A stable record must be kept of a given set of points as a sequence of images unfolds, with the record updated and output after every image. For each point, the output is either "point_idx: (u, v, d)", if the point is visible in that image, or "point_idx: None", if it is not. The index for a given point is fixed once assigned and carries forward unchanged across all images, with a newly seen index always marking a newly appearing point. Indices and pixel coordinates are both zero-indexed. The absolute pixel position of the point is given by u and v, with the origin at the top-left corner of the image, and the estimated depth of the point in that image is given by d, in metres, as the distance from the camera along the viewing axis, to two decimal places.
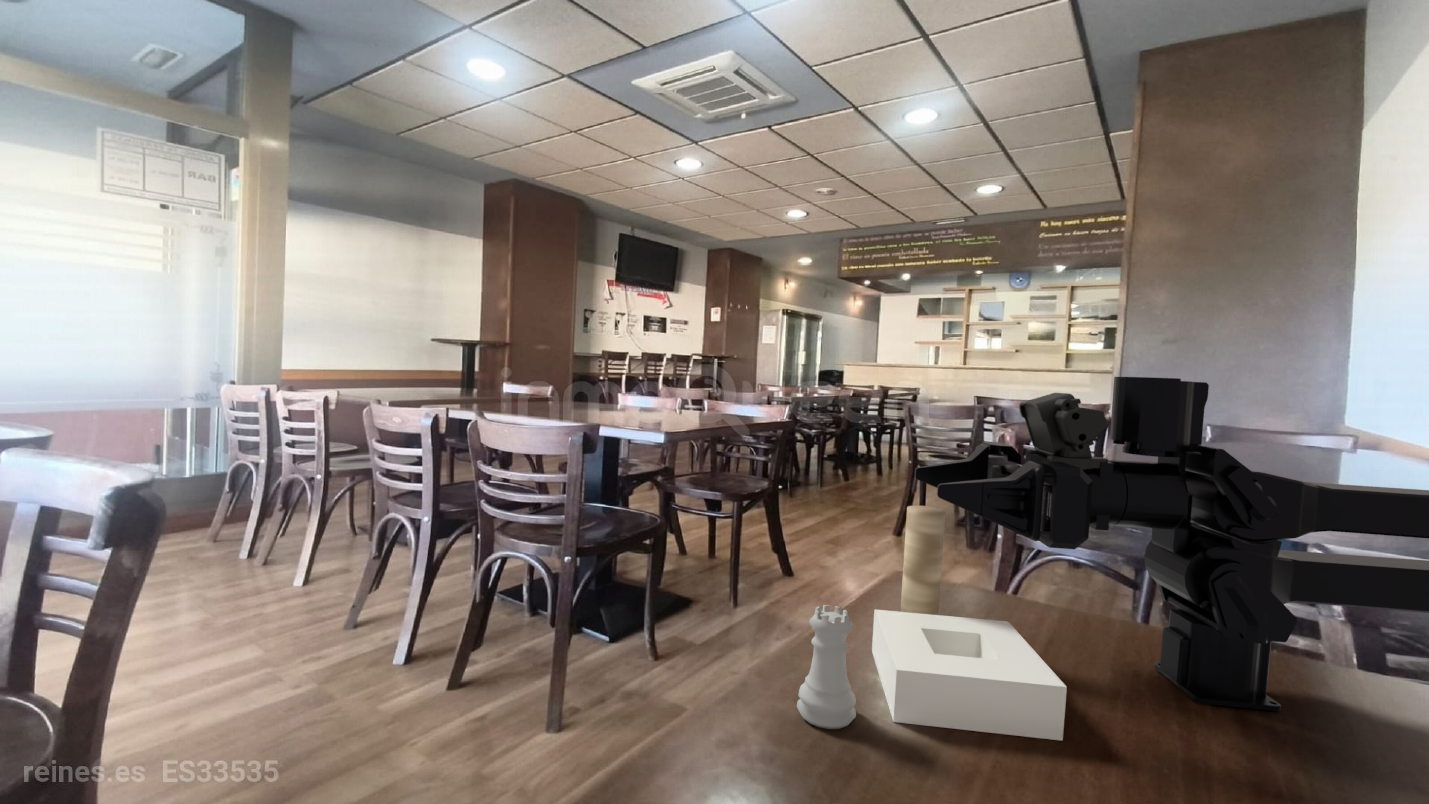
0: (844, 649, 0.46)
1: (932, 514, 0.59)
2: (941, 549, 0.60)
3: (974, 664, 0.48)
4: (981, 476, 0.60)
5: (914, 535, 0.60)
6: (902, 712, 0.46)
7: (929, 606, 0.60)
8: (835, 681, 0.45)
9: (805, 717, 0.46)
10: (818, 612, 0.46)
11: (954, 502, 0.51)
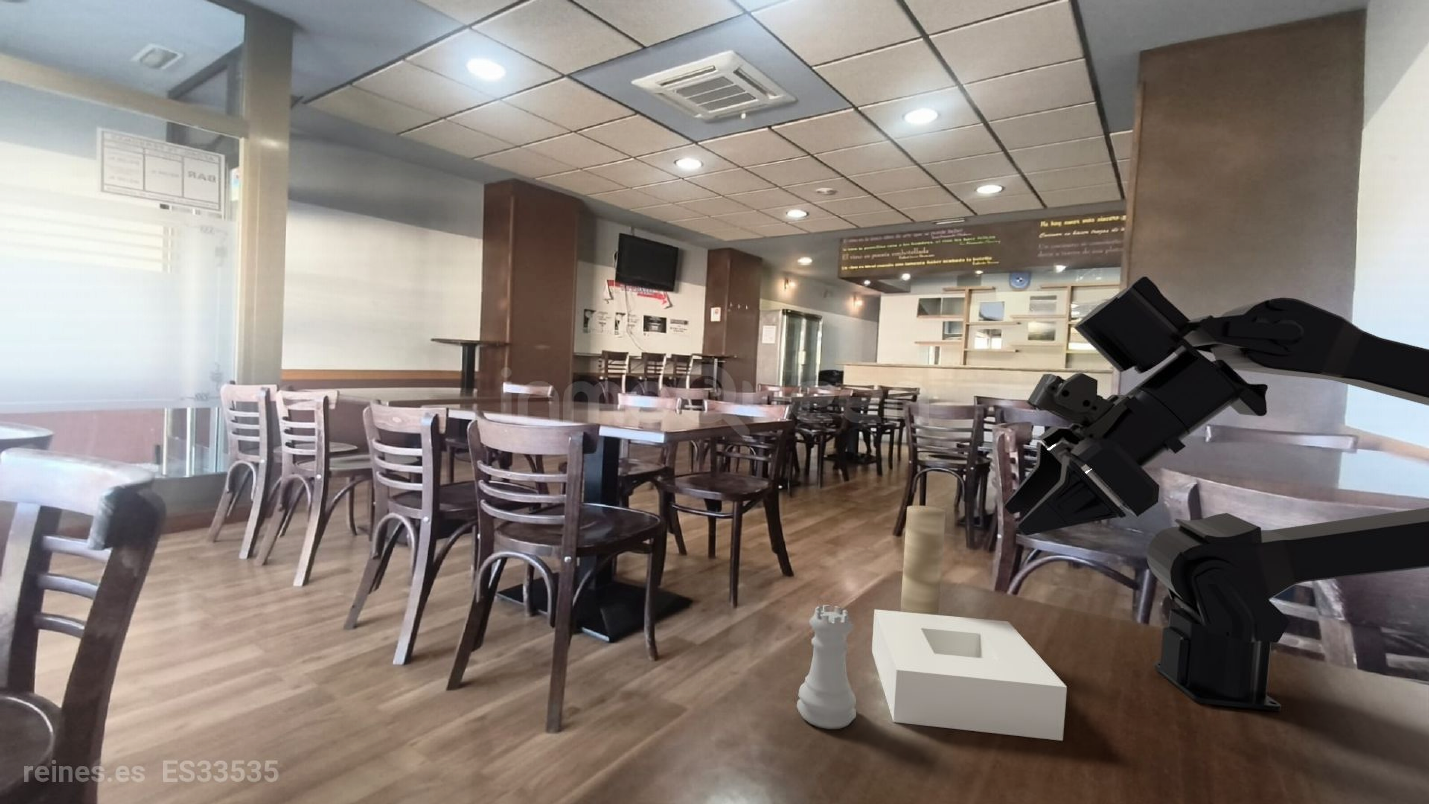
0: (844, 649, 0.46)
1: (932, 514, 0.59)
2: (941, 549, 0.60)
3: (974, 664, 0.48)
4: (1059, 469, 0.62)
5: (914, 535, 0.60)
6: (902, 712, 0.46)
7: (929, 606, 0.60)
8: (835, 681, 0.45)
9: (805, 717, 0.46)
10: (818, 612, 0.46)
11: (1040, 530, 0.53)
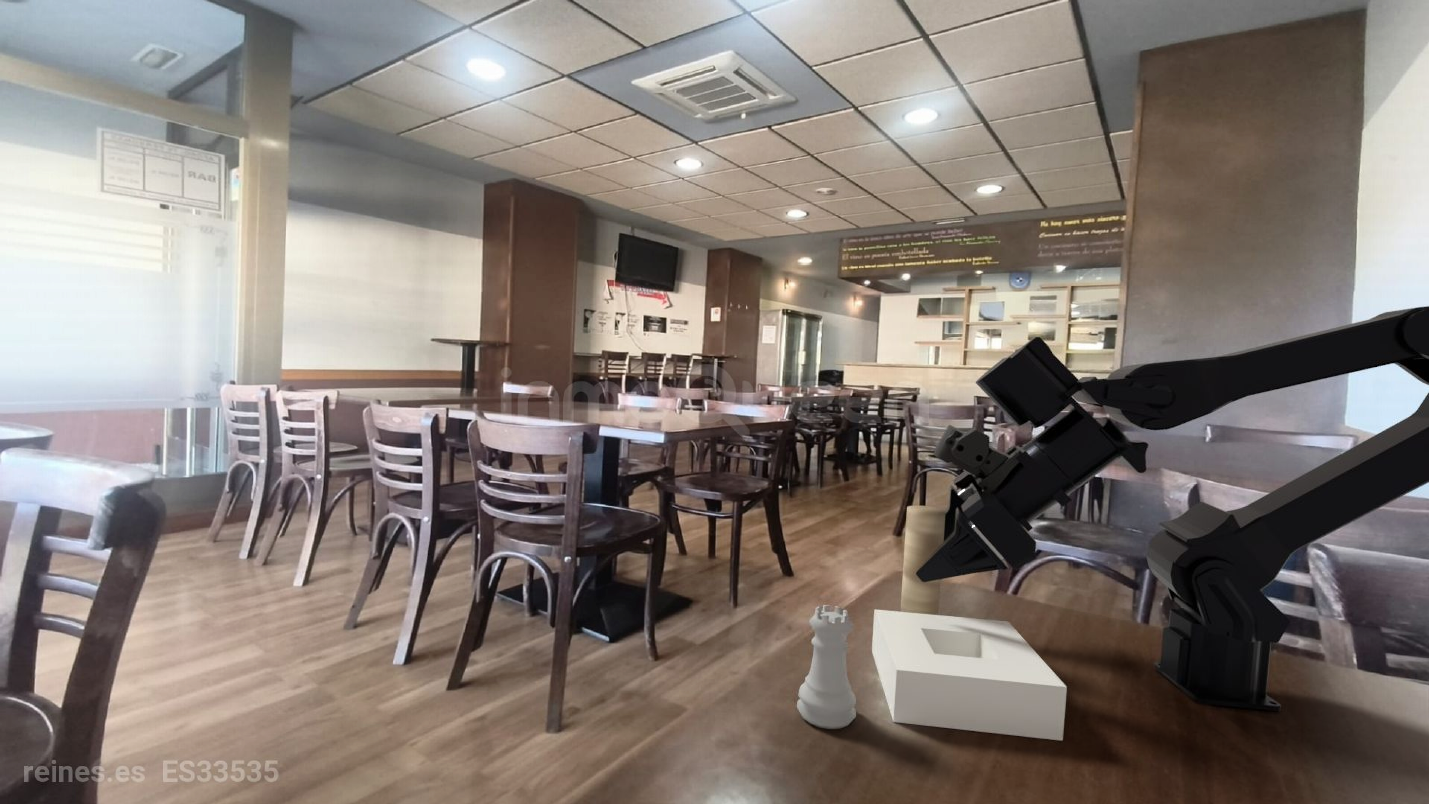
0: (844, 649, 0.46)
1: (932, 514, 0.59)
2: None
3: (974, 664, 0.48)
4: None
5: (914, 535, 0.60)
6: (902, 712, 0.46)
7: (929, 606, 0.60)
8: (835, 681, 0.45)
9: (805, 717, 0.46)
10: (818, 612, 0.46)
11: (936, 578, 0.56)
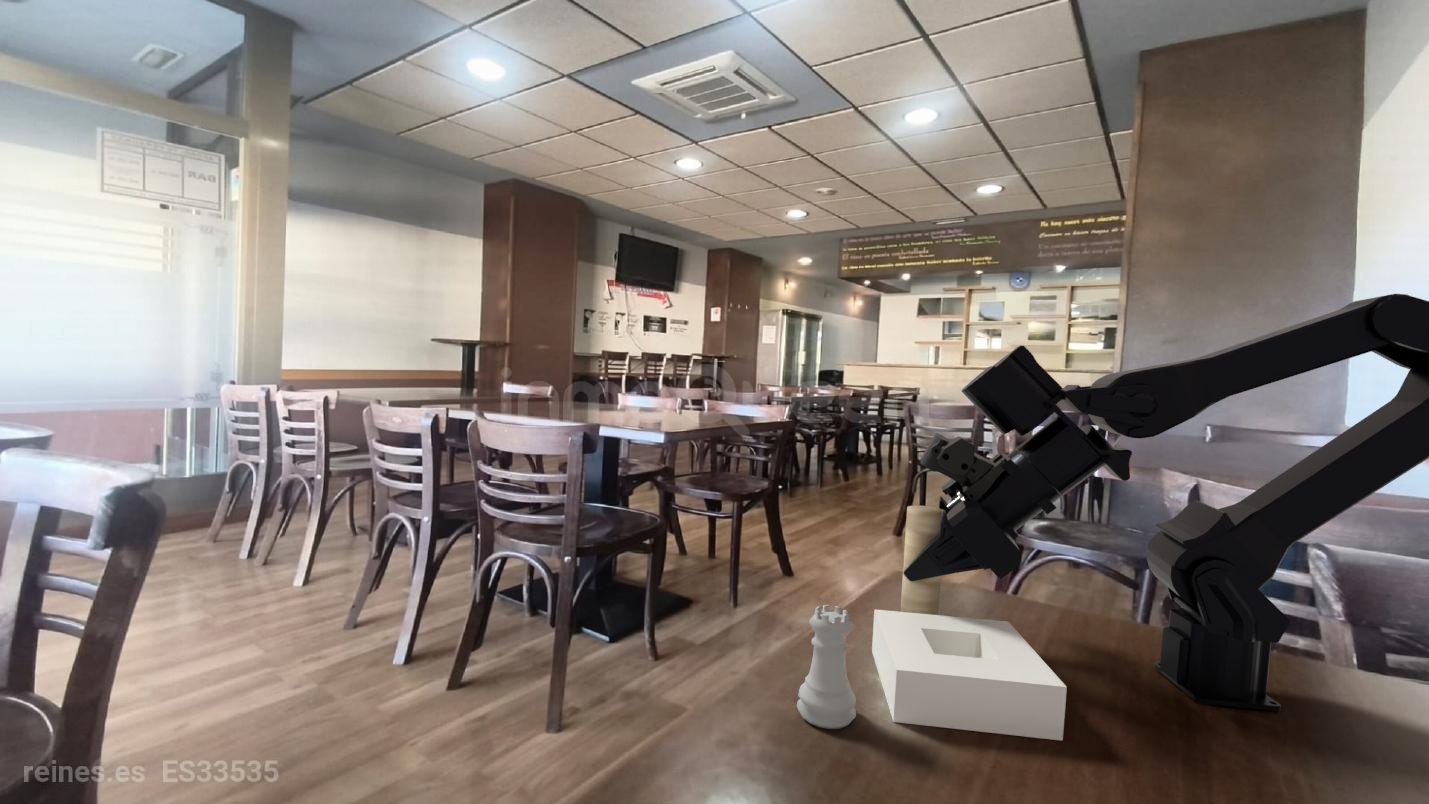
0: (844, 649, 0.46)
1: (932, 514, 0.59)
2: None
3: (974, 664, 0.48)
4: None
5: (914, 535, 0.60)
6: (902, 712, 0.46)
7: (929, 606, 0.60)
8: (835, 681, 0.45)
9: (805, 717, 0.46)
10: (818, 612, 0.46)
11: (922, 577, 0.59)
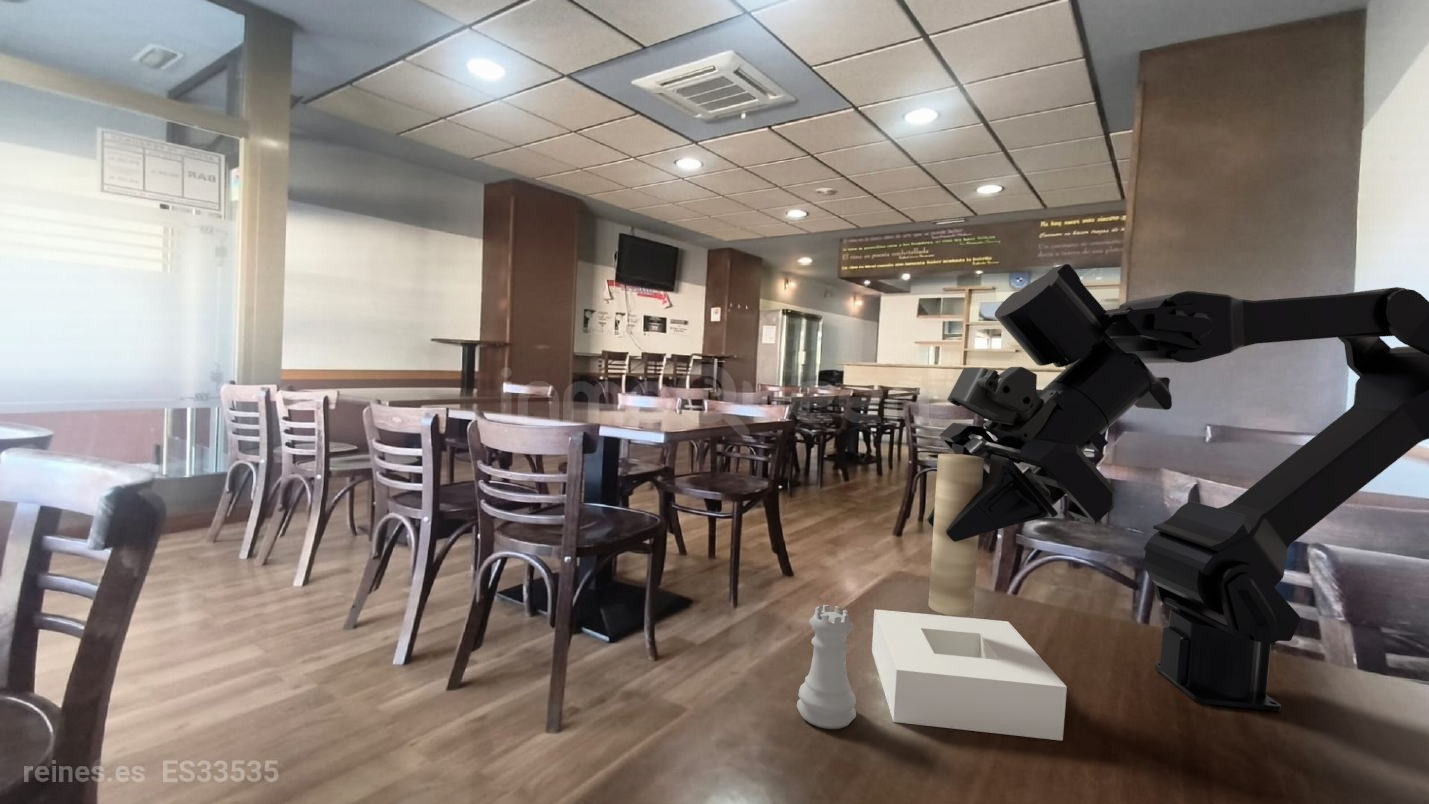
0: (844, 649, 0.46)
1: (976, 460, 0.50)
2: None
3: (974, 664, 0.48)
4: None
5: (956, 487, 0.51)
6: (902, 712, 0.46)
7: (971, 568, 0.51)
8: (835, 681, 0.45)
9: (805, 717, 0.46)
10: (818, 612, 0.46)
11: (970, 535, 0.50)
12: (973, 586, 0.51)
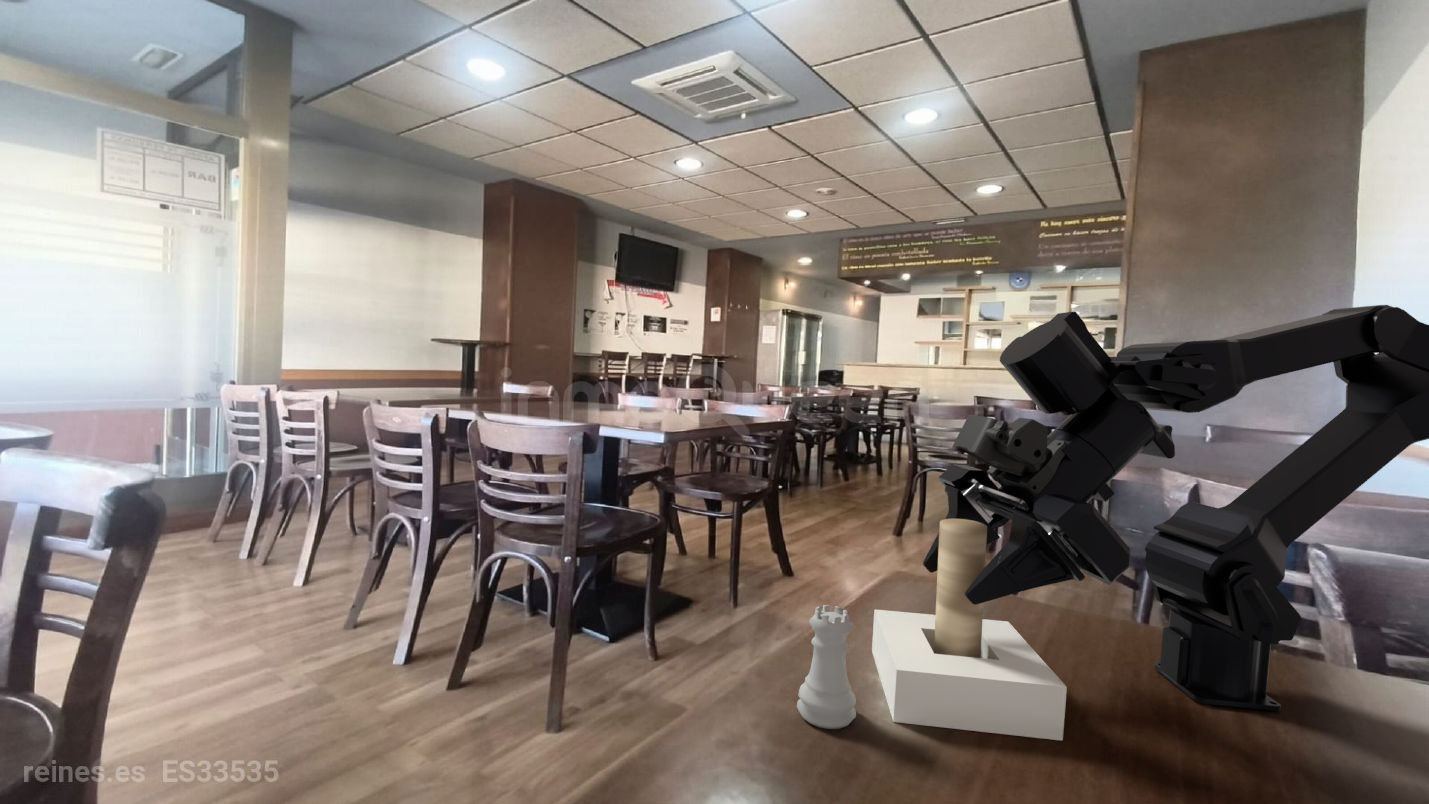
0: (844, 649, 0.46)
1: (980, 531, 0.49)
2: None
3: (974, 664, 0.48)
4: (975, 518, 0.55)
5: (960, 559, 0.49)
6: (902, 712, 0.46)
7: (977, 640, 0.50)
8: (835, 681, 0.45)
9: (805, 717, 0.46)
10: (818, 612, 0.46)
11: (991, 598, 0.47)
12: (979, 657, 0.50)
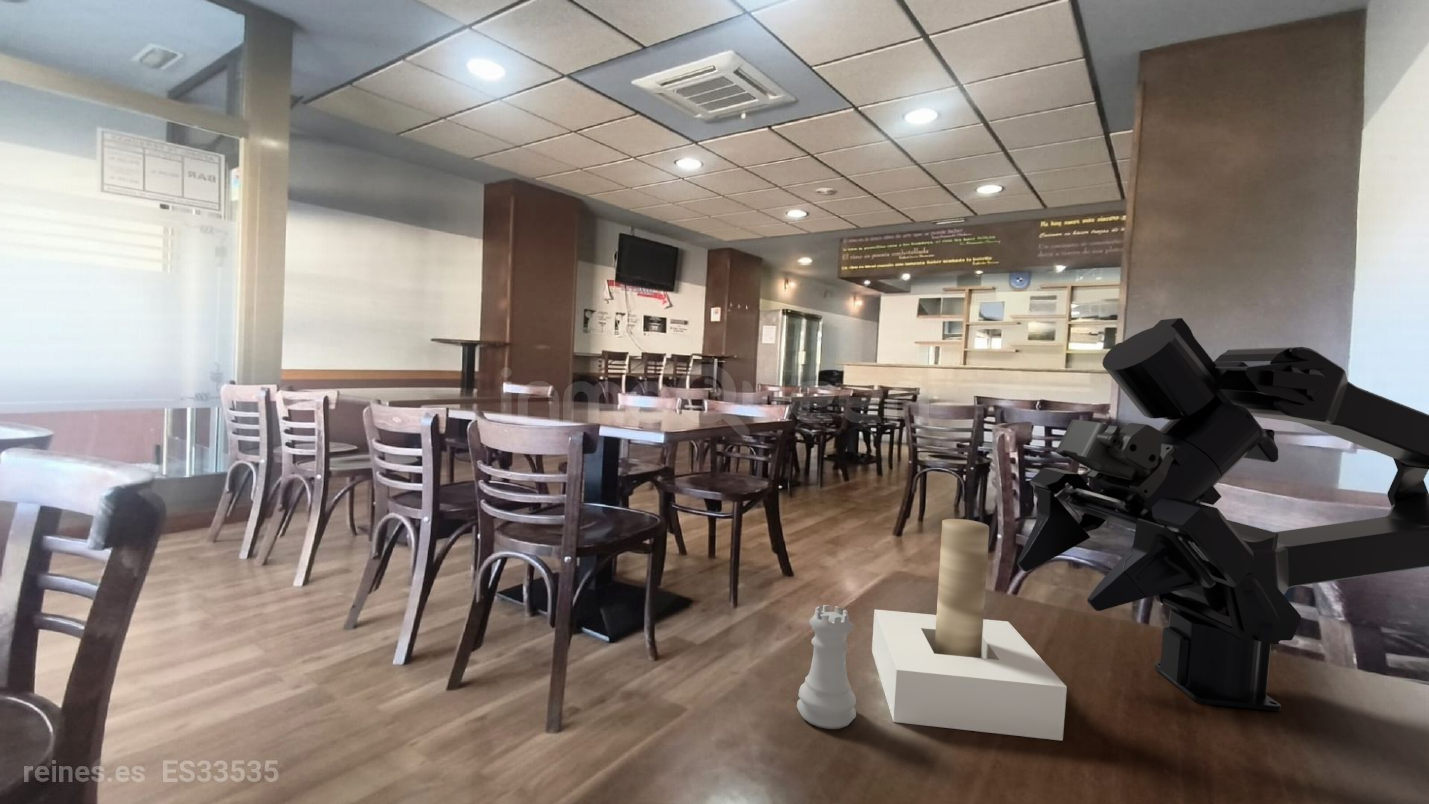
0: (844, 649, 0.46)
1: (982, 530, 0.49)
2: (986, 569, 0.50)
3: (974, 664, 0.48)
4: (1067, 518, 0.57)
5: (962, 557, 0.49)
6: (902, 712, 0.46)
7: (978, 640, 0.50)
8: (835, 681, 0.45)
9: (805, 717, 0.46)
10: (818, 612, 0.46)
11: (1115, 605, 0.47)
12: (979, 657, 0.50)
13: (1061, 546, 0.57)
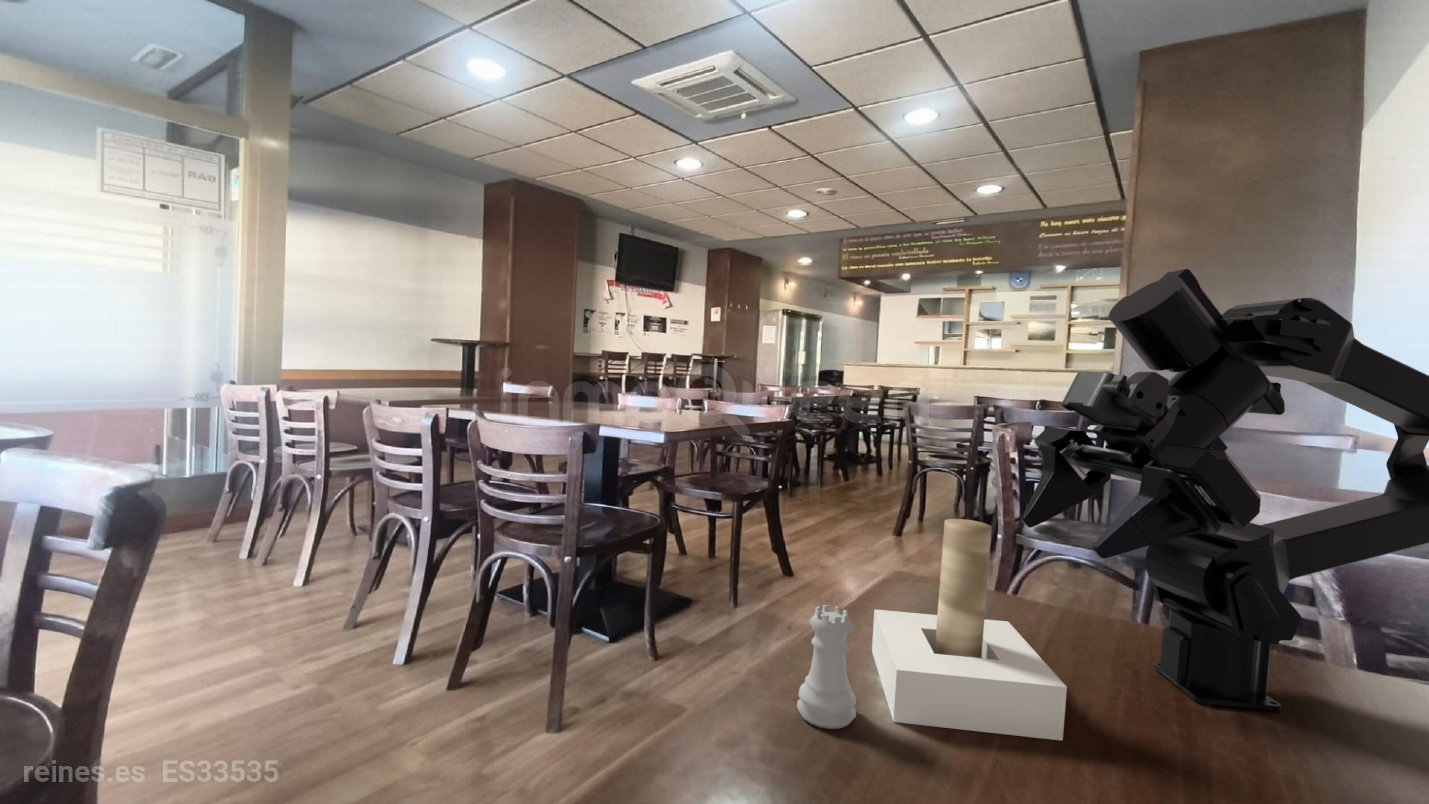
0: (844, 649, 0.46)
1: (985, 530, 0.49)
2: None
3: (974, 664, 0.48)
4: (1071, 475, 0.57)
5: (964, 557, 0.49)
6: (902, 712, 0.46)
7: (979, 640, 0.50)
8: (835, 681, 0.45)
9: (805, 717, 0.46)
10: (818, 612, 0.46)
11: (1120, 552, 0.47)
12: (980, 657, 0.50)
13: (1065, 502, 0.57)
